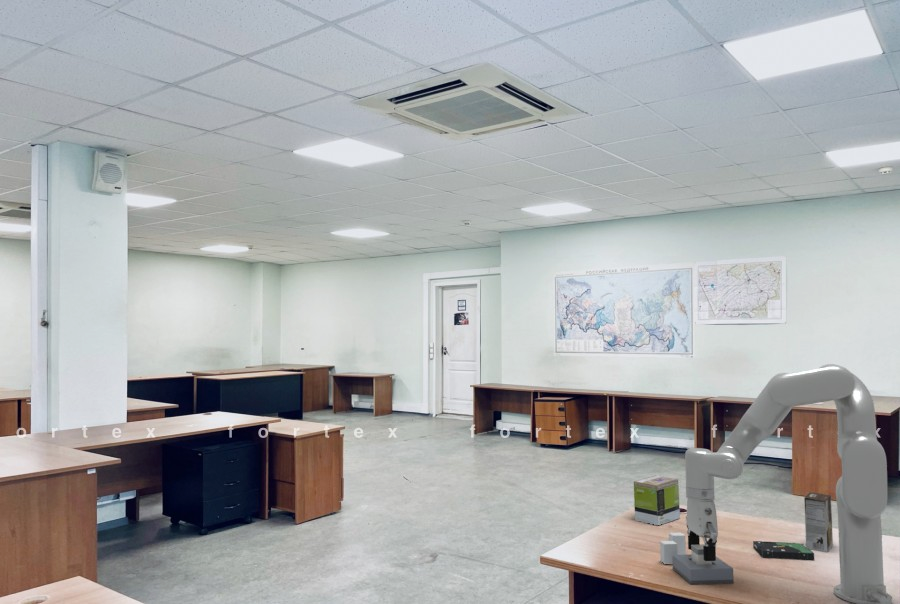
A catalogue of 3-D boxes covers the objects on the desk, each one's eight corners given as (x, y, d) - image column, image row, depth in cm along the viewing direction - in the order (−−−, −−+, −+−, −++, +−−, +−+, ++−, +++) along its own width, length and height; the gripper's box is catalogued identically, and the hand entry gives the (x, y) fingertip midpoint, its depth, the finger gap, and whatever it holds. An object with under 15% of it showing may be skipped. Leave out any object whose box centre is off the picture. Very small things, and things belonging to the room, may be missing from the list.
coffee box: (811, 541, 214) (809, 491, 215) (833, 545, 210) (831, 494, 211) (805, 548, 207) (803, 497, 208) (828, 552, 203) (826, 500, 204)
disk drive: (762, 560, 198) (815, 562, 195) (762, 550, 198) (814, 552, 196) (752, 549, 208) (802, 551, 206) (752, 540, 208) (802, 542, 206)
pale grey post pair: (697, 564, 193) (696, 543, 193) (664, 565, 192) (664, 544, 192) (681, 552, 204) (681, 532, 204) (650, 552, 203) (650, 533, 203)
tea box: (656, 513, 249) (655, 474, 250) (680, 519, 241) (679, 478, 242) (633, 520, 239) (633, 480, 240) (658, 526, 232) (657, 484, 233)
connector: (712, 574, 181) (711, 548, 182) (698, 575, 181) (697, 549, 181) (705, 569, 185) (704, 544, 186) (691, 569, 185) (691, 544, 185)
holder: (733, 583, 177) (733, 568, 178) (690, 584, 177) (690, 569, 177) (712, 567, 189) (712, 553, 190) (672, 569, 189) (672, 554, 189)
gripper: (728, 500, 176) (729, 565, 175) (699, 486, 193) (700, 545, 192) (701, 500, 175) (702, 565, 174) (674, 486, 193) (675, 545, 192)
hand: (701, 554), depth 183 cm, fingers open, 9 cm apart
